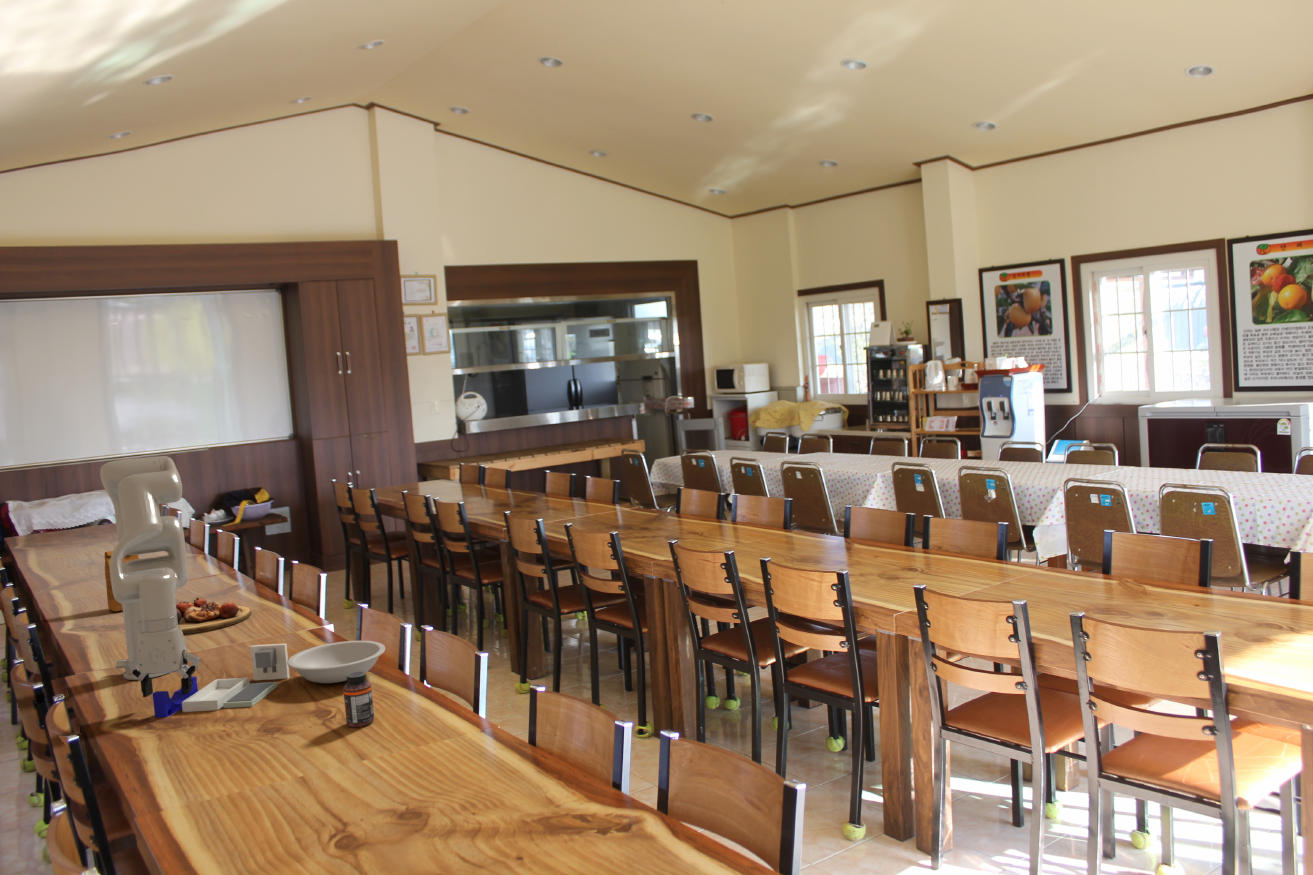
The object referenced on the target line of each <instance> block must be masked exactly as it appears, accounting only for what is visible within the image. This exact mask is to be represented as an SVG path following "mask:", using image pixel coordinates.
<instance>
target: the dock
mask: <svg viewBox="0 0 1313 875" xmlns="http://www.w3.org/2000/svg"><path fill="white" fill-rule="evenodd" d="M249 684H251V683H250V677H238V678H237V677H236V678H235V677H234V678H216V679H214V680H213V681H211V682H210V683H208V684H207V685H205V686H204V687H203V688H200V689H198V692H196V693H195V694H193V695H192V696H190V697H189V698H187V699H186V700H184V701H183V702H182V709H181V710H182V713H190V712H192V713H193V712H205V711H206V712H208V711H210V712H211V711H219V710H220V709H221V708H224V707H223V703H224V702H225V701H227V700H228V699H229V698H231V697H232V696H234V695H235V694H236V693H238V692H239V691H240V690H242V689H243V688H245V687H246V686H247V685H249Z"/></svg>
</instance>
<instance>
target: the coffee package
mask: <svg viewBox="0 0 1313 875" xmlns="http://www.w3.org/2000/svg"><path fill="white" fill-rule="evenodd" d="M113 551H114V550H110V551H105V552H104V556H103V558H104V561H105V562H104V576H105V577H104V579H105V584H106V585H105V586H106V587H105V588H106V600H107V607H108V611H112V612H123V608H122V604H121V603H119V602H117V601H116V599H115V598H114V595H113V590H112V584H111V576H110V559H111V555H112V553H113ZM136 559H140V557H139V555H126V556H125V558H124V559H123V562H122V564H123V563H125V562H128V561H131V560H136Z"/></svg>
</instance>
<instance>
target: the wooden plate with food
mask: <svg viewBox="0 0 1313 875" xmlns="http://www.w3.org/2000/svg"><path fill="white" fill-rule="evenodd" d="M176 611H177V620H178V627H181V630H182V632H183V635H189V634H197V633H201V632H202V633H203V632H207V631H212V630H216V629H221V628H224V627H225V628H226V627H229V626H232V625H235V624H238V623H240V622H243V621H245V620H247V619H248V618H249V617H250V616H251V614H252V610H251V609H250V608H249V607H248V606H247V607H246V606H243V605H242V606H241V605H236V603H234V602H230V601H228V602H226V603H225V602H223V604H220V603H219V604H217V603H215V601H213V602H209V603H207V600H206V599H205V598H202V597H201V598H200V597H196V598H195V599H193V602H192V601H181V602H179V603H177V604H176Z"/></svg>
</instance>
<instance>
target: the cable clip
mask: <svg viewBox="0 0 1313 875" xmlns="http://www.w3.org/2000/svg"><path fill="white" fill-rule="evenodd" d="M192 685H193V687H192V691H191V692H189V693H188V694H186V695H183V694H182V685H181V686H180V689H178V690H175V691H174V692H173V694H172V695H171V697H170V693H169V691H168V690H163V691H162V690H156V691H153V693H152V702H153V710H154V718H157V719H159V718H168V717H171V715H174V714H175V713H177V712H179V711H180V710H183V709H182V702H183V701H184V700H186V699H187V698H189V697H190V696H192V695H193V694H195V693H196V692H198V691H199V689H198V679H197V676H192Z"/></svg>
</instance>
